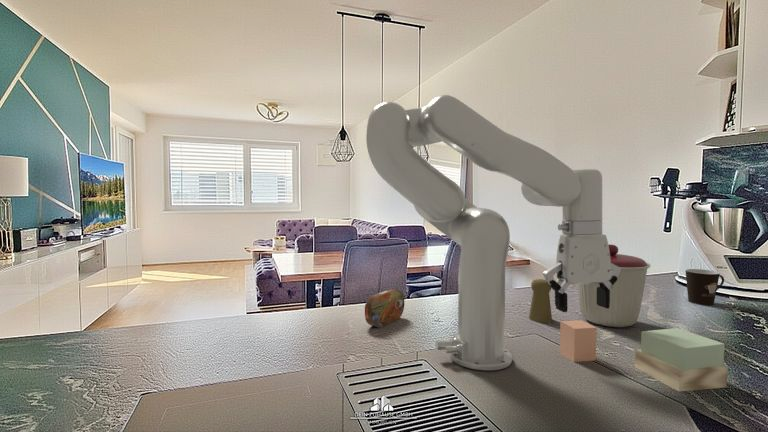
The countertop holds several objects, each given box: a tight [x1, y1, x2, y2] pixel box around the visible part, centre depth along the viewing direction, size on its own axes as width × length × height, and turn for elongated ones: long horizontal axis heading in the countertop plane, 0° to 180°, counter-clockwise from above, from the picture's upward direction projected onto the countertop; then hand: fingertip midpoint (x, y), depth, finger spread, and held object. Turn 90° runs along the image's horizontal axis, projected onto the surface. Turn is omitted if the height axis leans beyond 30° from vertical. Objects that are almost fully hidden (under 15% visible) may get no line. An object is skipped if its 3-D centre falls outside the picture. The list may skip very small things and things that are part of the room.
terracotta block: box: [559, 319, 598, 363], centre depth 87 cm, size 5×5×7 cm
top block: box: [640, 327, 725, 370], centre depth 77 cm, size 9×9×4 cm
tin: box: [364, 289, 405, 328], centre depth 110 cm, size 15×3×8 cm, turn 143°
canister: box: [577, 243, 651, 328], centre depth 110 cm, size 18×18×21 cm
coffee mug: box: [685, 268, 725, 306], centre depth 129 cm, size 12×9×10 cm
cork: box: [528, 278, 553, 324], centre depth 113 cm, size 6×6×11 cm
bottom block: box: [634, 348, 729, 392], centre depth 78 cm, size 10×10×4 cm
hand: (582, 308), depth 87 cm, fingers open, 9 cm apart
